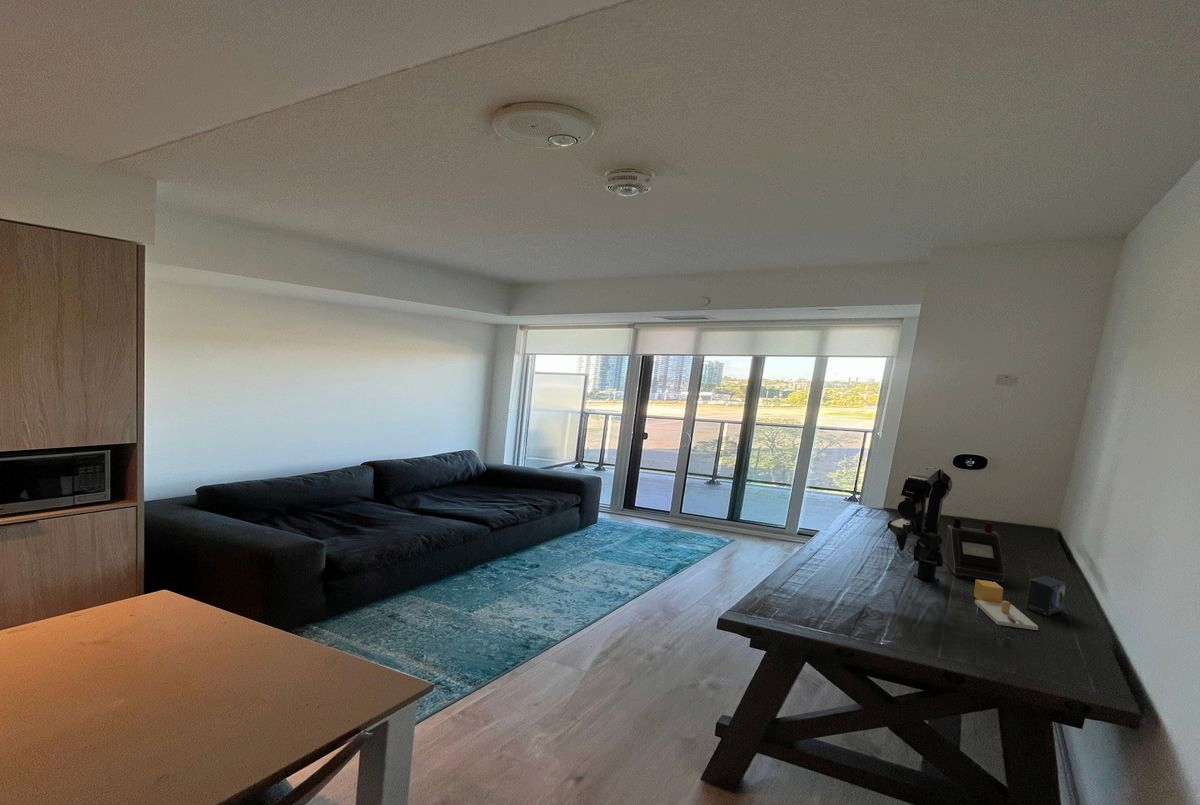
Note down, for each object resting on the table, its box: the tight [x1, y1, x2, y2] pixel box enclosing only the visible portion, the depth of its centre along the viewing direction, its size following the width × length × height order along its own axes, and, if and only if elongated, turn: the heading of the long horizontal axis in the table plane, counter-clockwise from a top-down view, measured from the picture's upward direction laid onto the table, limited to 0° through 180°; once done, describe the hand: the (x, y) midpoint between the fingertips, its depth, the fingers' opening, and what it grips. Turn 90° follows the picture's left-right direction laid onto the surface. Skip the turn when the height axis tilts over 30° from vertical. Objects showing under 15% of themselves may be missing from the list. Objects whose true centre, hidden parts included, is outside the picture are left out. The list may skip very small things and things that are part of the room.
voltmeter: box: [944, 517, 1005, 583], centre depth 212 cm, size 16×16×20 cm
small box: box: [1025, 575, 1067, 617], centre depth 181 cm, size 11×6×10 cm, turn 117°
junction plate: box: [974, 599, 1039, 631], centre depth 175 cm, size 16×11×5 cm, turn 166°
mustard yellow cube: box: [973, 579, 1004, 603], centre depth 186 cm, size 6×6×6 cm
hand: (911, 555), depth 189 cm, fingers open, 9 cm apart
